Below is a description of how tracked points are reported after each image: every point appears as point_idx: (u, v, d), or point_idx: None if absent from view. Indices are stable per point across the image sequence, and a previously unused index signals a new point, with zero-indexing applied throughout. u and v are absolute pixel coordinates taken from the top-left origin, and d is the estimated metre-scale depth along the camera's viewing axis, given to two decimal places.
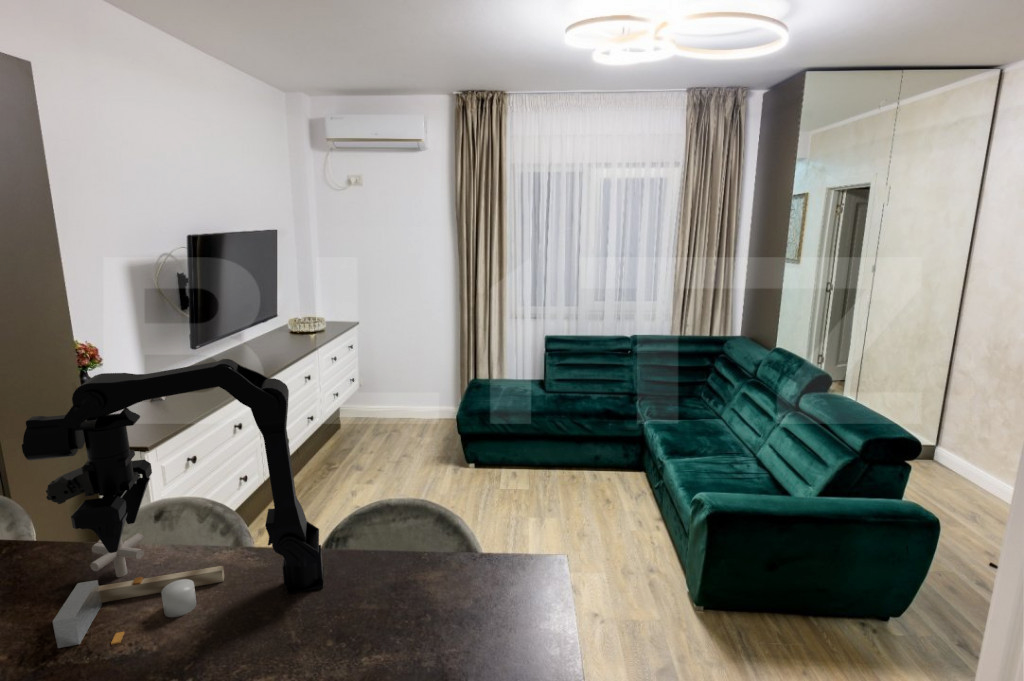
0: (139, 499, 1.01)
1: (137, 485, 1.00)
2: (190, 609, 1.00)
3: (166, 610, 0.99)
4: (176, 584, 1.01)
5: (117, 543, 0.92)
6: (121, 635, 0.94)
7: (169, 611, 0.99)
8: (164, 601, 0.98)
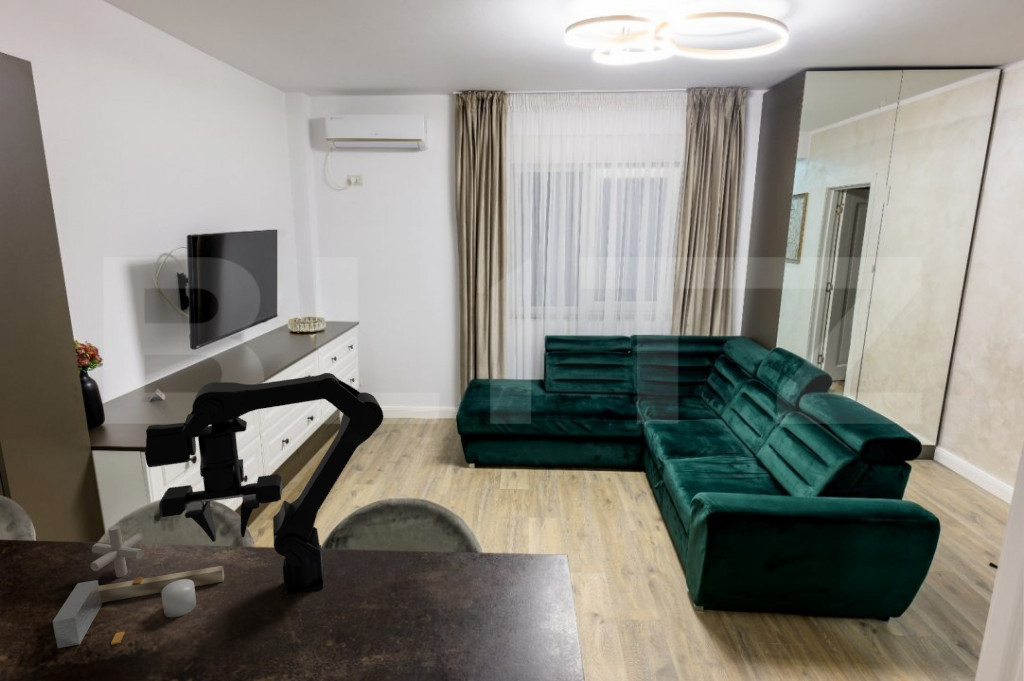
0: None
1: None
2: (190, 609, 1.00)
3: (166, 610, 0.99)
4: (176, 584, 1.01)
5: None
6: (121, 635, 0.94)
7: (169, 611, 0.99)
8: (164, 601, 0.98)
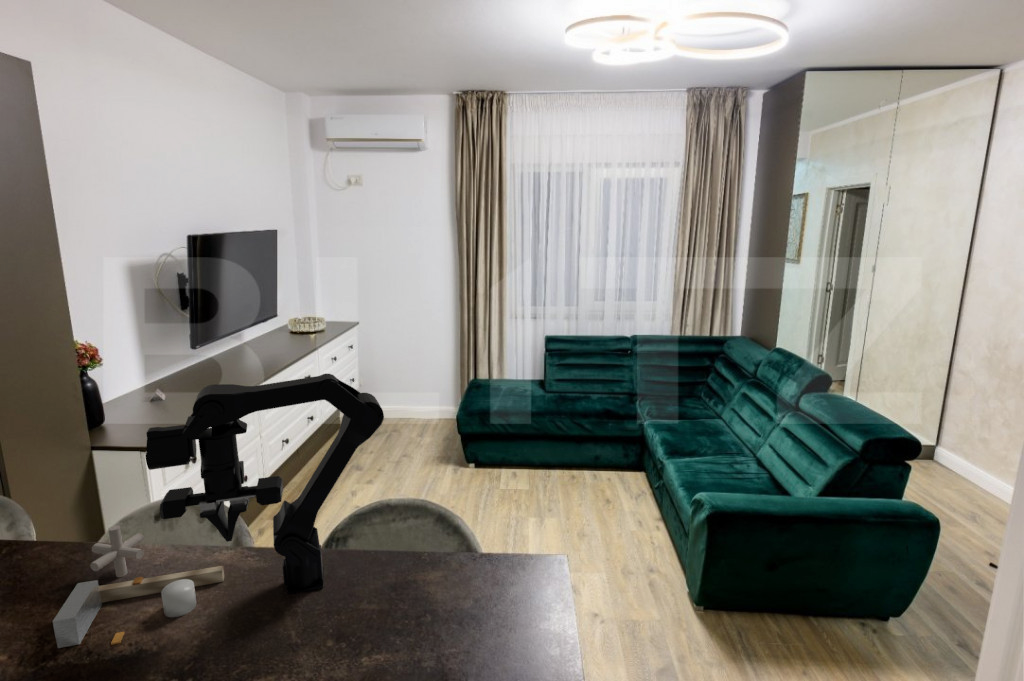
0: (227, 522, 0.99)
1: (228, 509, 0.99)
2: (190, 609, 1.00)
3: (166, 610, 0.99)
4: (176, 584, 1.01)
5: (222, 534, 1.00)
6: (121, 635, 0.94)
7: (169, 611, 0.99)
8: (164, 601, 0.98)
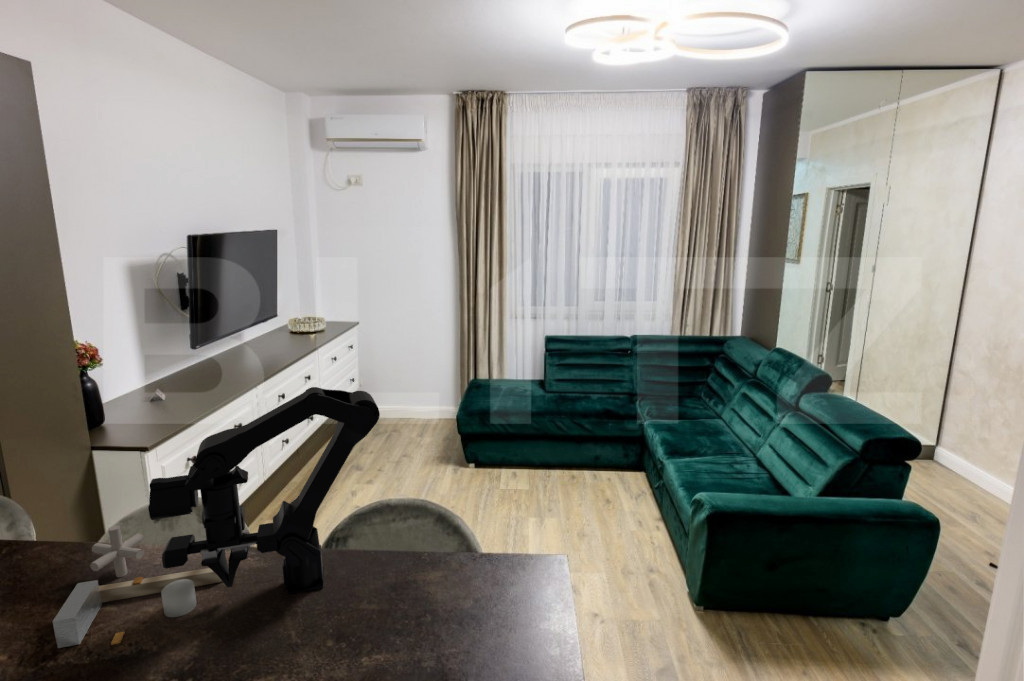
0: (228, 570, 1.01)
1: None
2: (190, 609, 1.00)
3: (166, 610, 0.99)
4: (176, 584, 1.01)
5: None
6: (121, 635, 0.94)
7: (169, 611, 0.99)
8: (164, 601, 0.98)
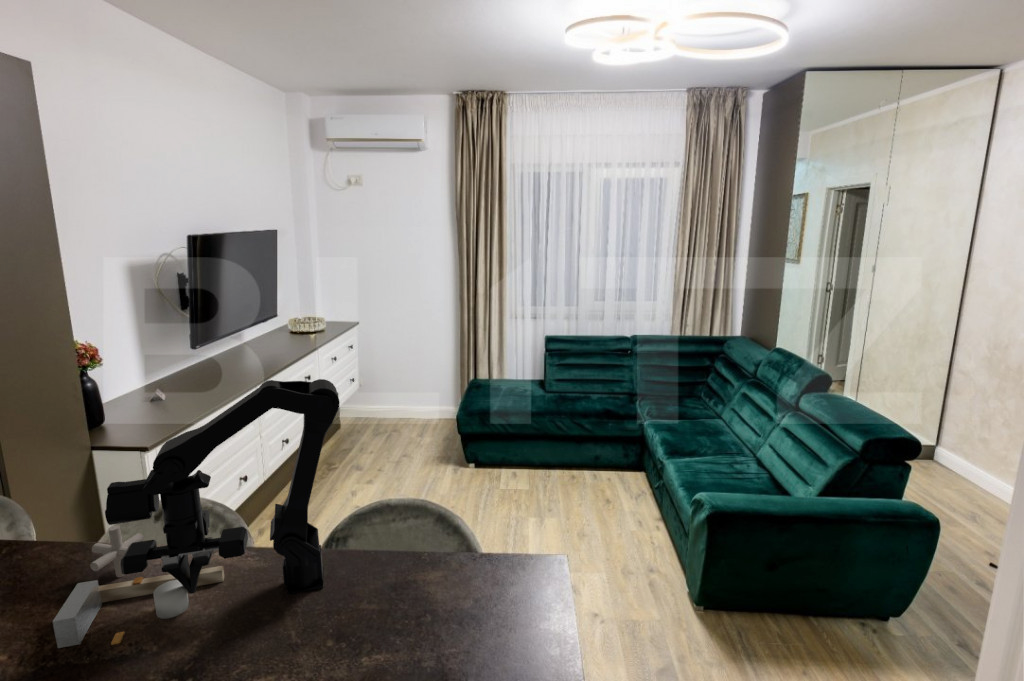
0: (190, 576, 0.99)
1: (191, 562, 0.98)
2: (182, 610, 1.00)
3: (158, 611, 0.98)
4: (168, 585, 1.01)
5: (185, 587, 1.00)
6: (121, 635, 0.94)
7: (161, 612, 0.98)
8: (156, 602, 0.98)
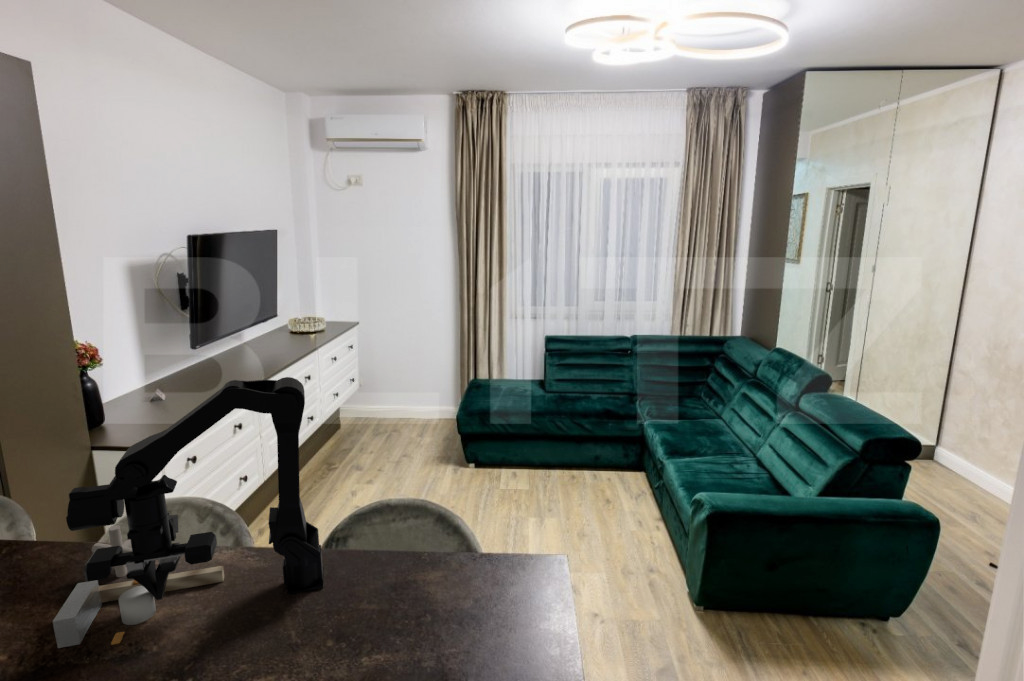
0: (156, 582, 0.97)
1: (157, 568, 0.97)
2: (148, 616, 0.98)
3: (123, 617, 0.97)
4: (135, 591, 0.99)
5: (151, 593, 0.98)
6: (121, 635, 0.94)
7: (126, 618, 0.97)
8: (121, 608, 0.96)
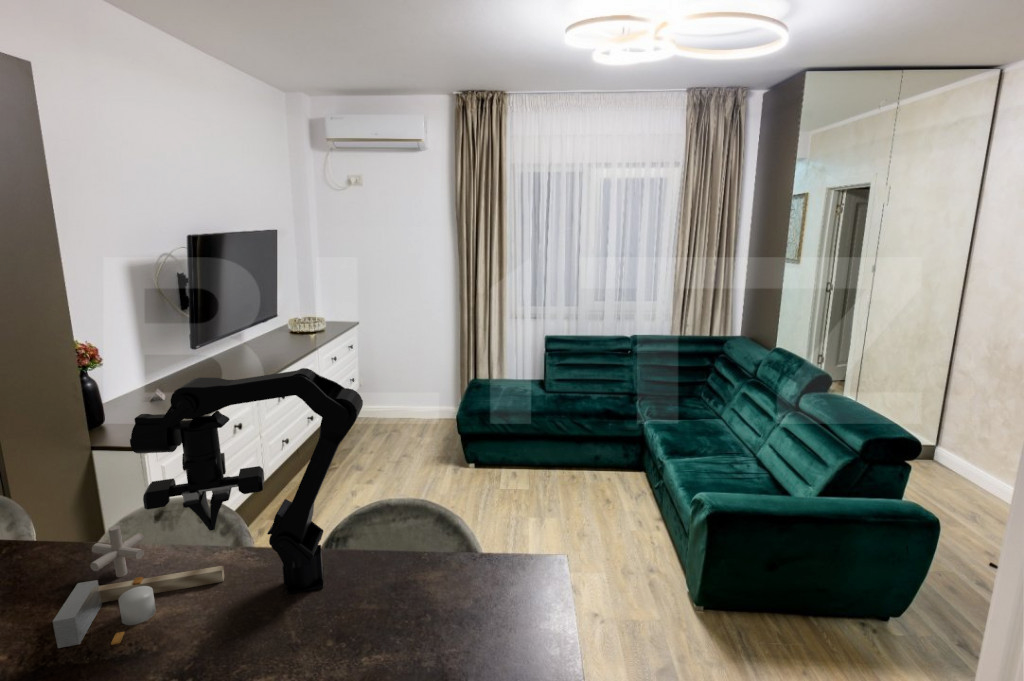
0: None
1: (211, 498, 1.02)
2: (148, 617, 0.98)
3: (123, 617, 0.97)
4: (134, 591, 0.99)
5: (205, 524, 1.03)
6: (121, 635, 0.94)
7: (126, 619, 0.97)
8: (121, 609, 0.97)
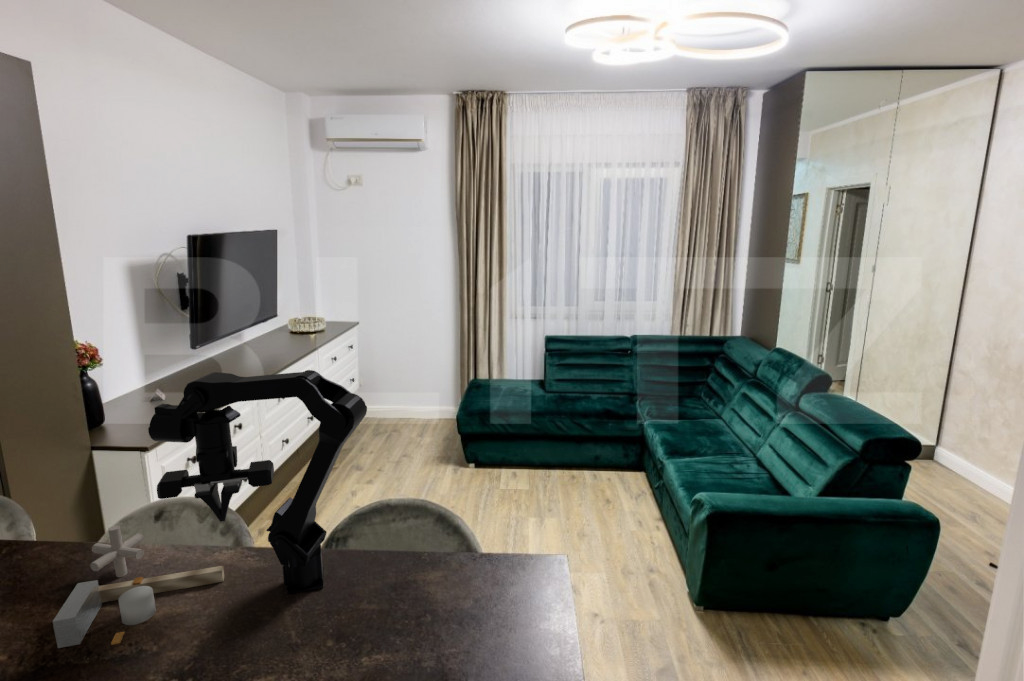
0: (221, 503, 1.05)
1: (222, 490, 1.04)
2: (148, 617, 0.98)
3: (123, 617, 0.97)
4: (134, 591, 0.99)
5: (215, 514, 1.06)
6: (121, 635, 0.94)
7: (126, 619, 0.97)
8: (121, 609, 0.96)
